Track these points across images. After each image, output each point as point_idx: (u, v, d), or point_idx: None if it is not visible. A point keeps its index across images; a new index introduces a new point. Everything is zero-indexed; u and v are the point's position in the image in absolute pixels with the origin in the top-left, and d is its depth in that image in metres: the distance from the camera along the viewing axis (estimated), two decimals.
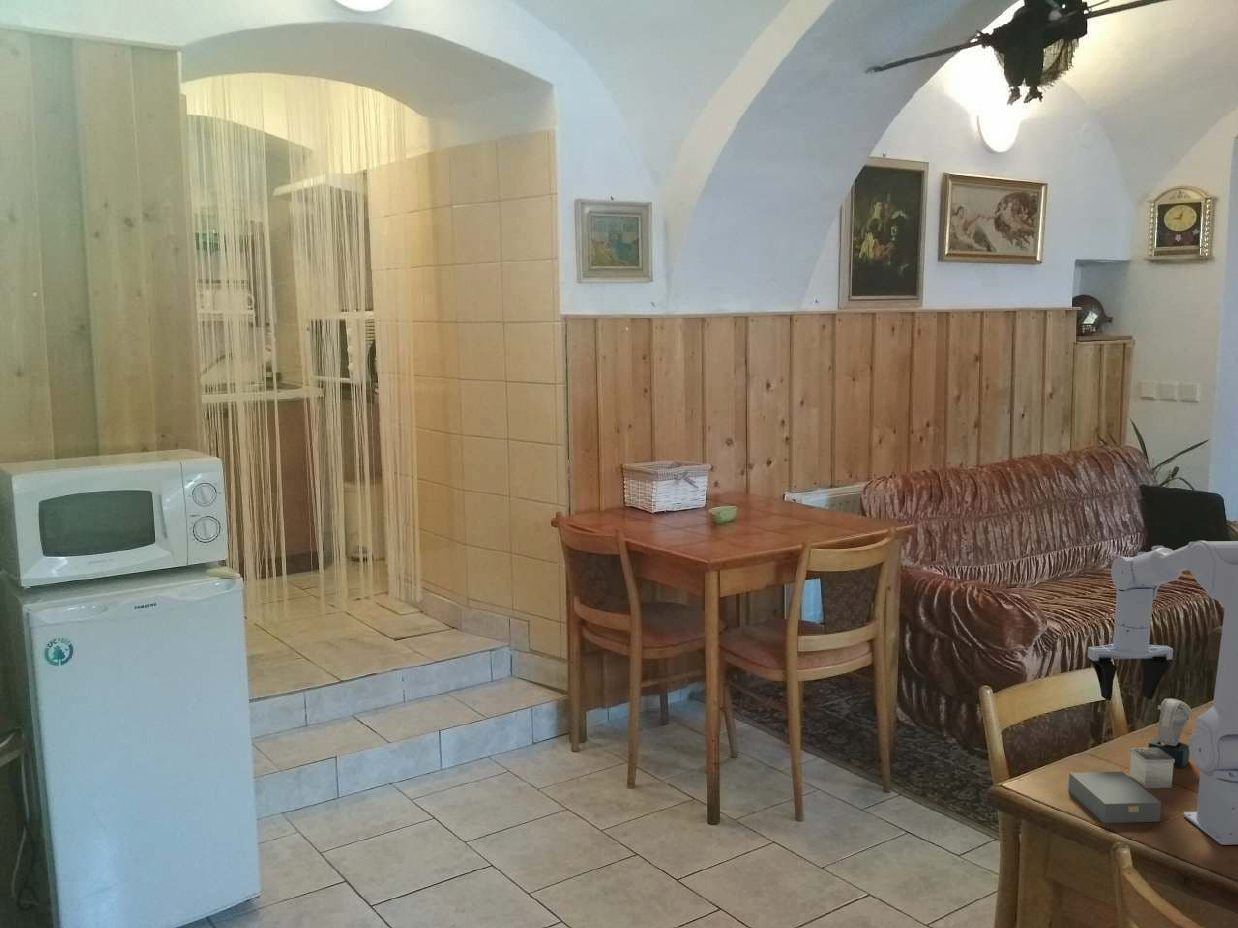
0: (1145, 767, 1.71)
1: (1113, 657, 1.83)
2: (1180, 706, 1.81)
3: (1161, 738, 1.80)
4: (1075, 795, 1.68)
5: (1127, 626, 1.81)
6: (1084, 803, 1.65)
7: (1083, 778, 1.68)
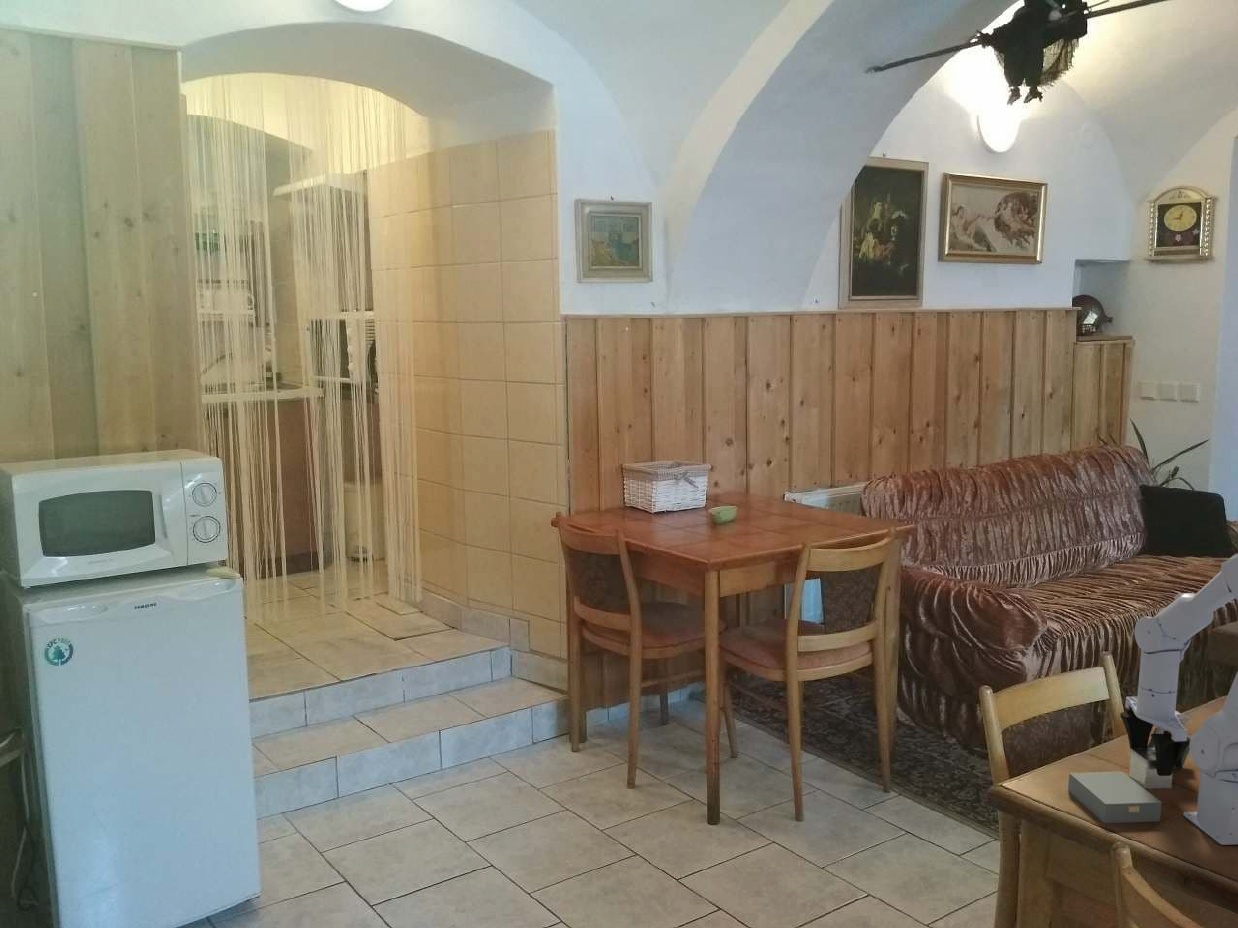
0: (1145, 768, 1.71)
1: None
2: None
3: None
4: (1075, 795, 1.68)
5: None
6: (1084, 803, 1.65)
7: (1083, 778, 1.68)
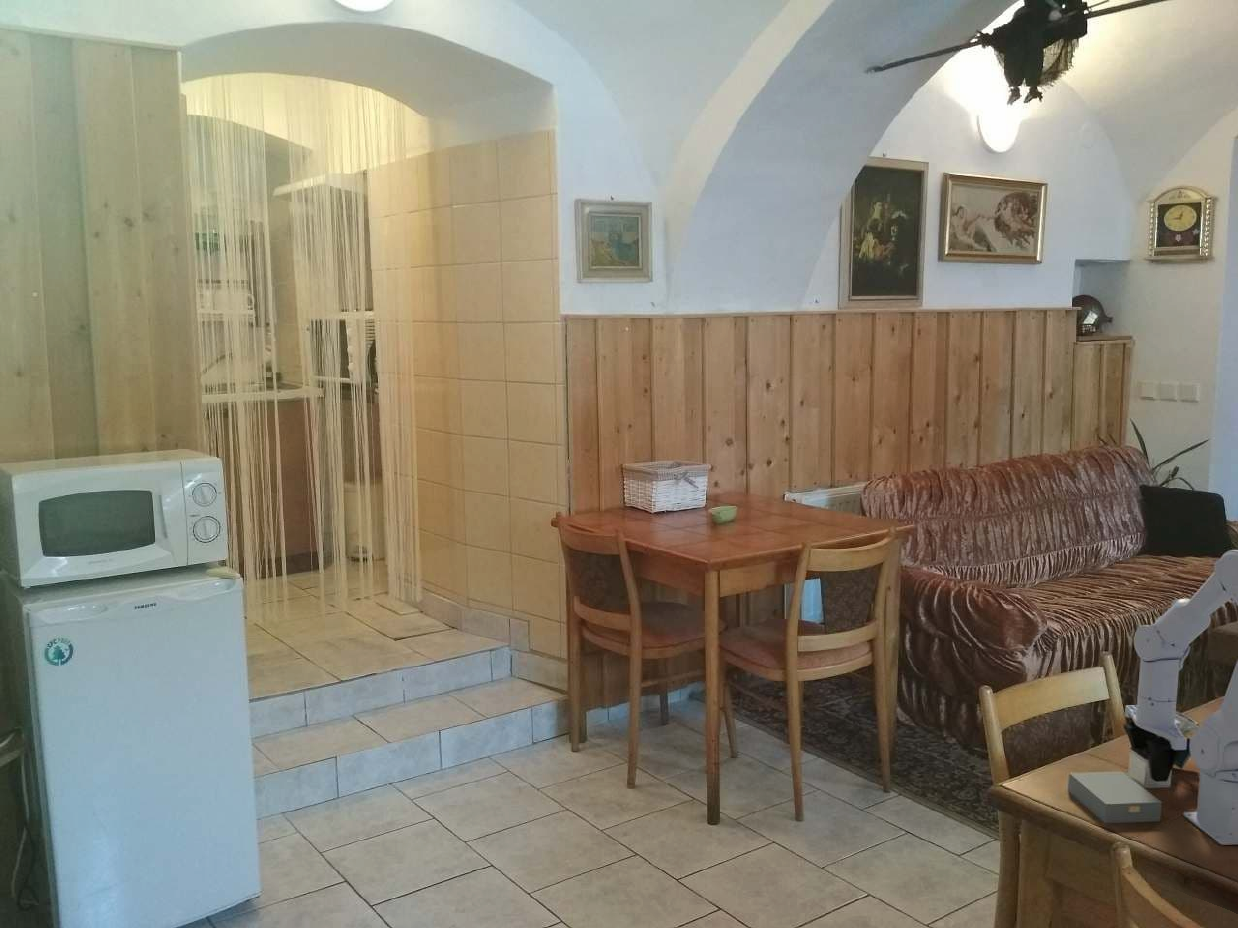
0: (1144, 767, 1.71)
1: None
2: None
3: None
4: (1075, 795, 1.68)
5: None
6: (1084, 803, 1.65)
7: (1083, 778, 1.68)
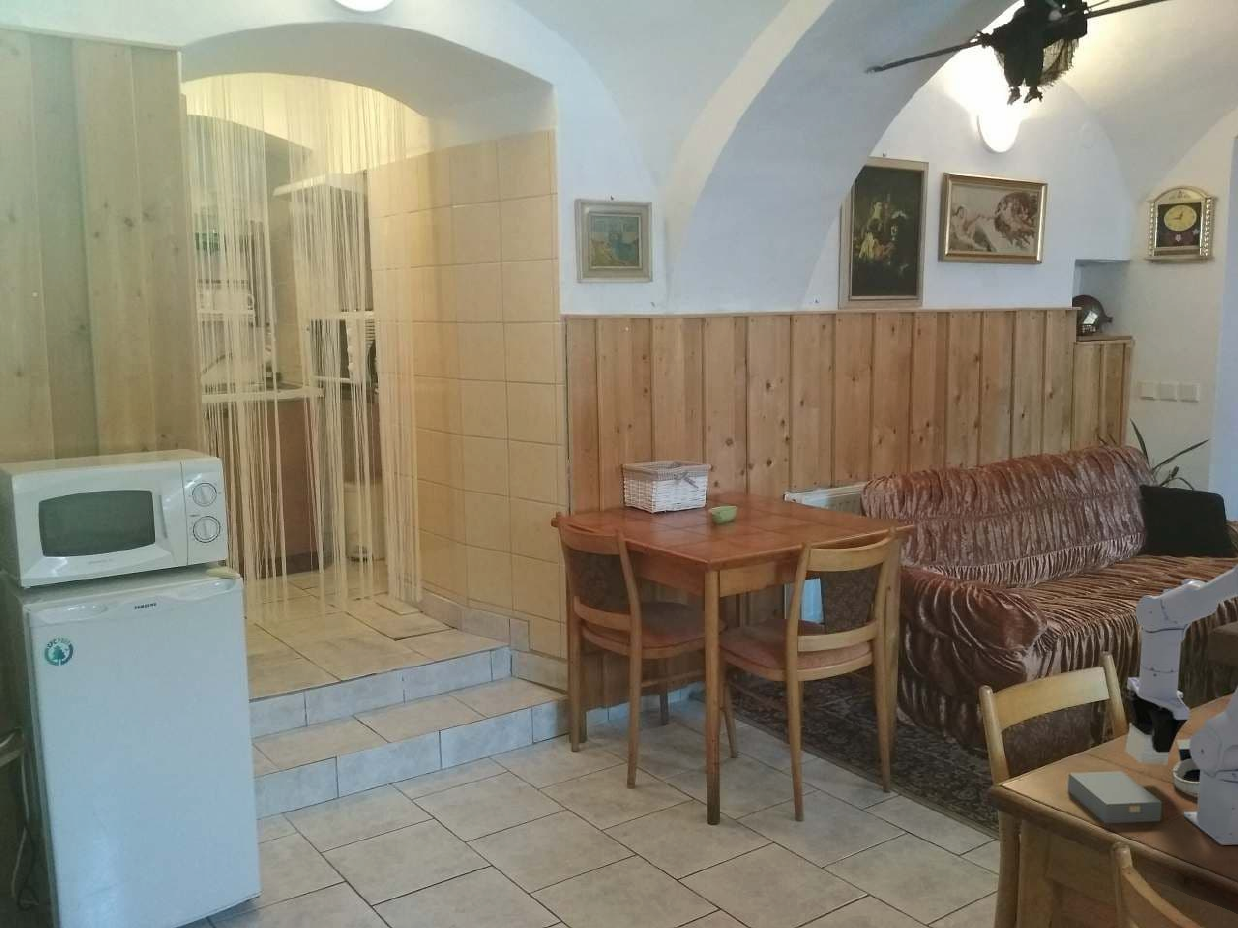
0: (1143, 742, 1.71)
1: None
2: None
3: None
4: (1075, 795, 1.68)
5: None
6: (1084, 803, 1.65)
7: (1083, 778, 1.68)
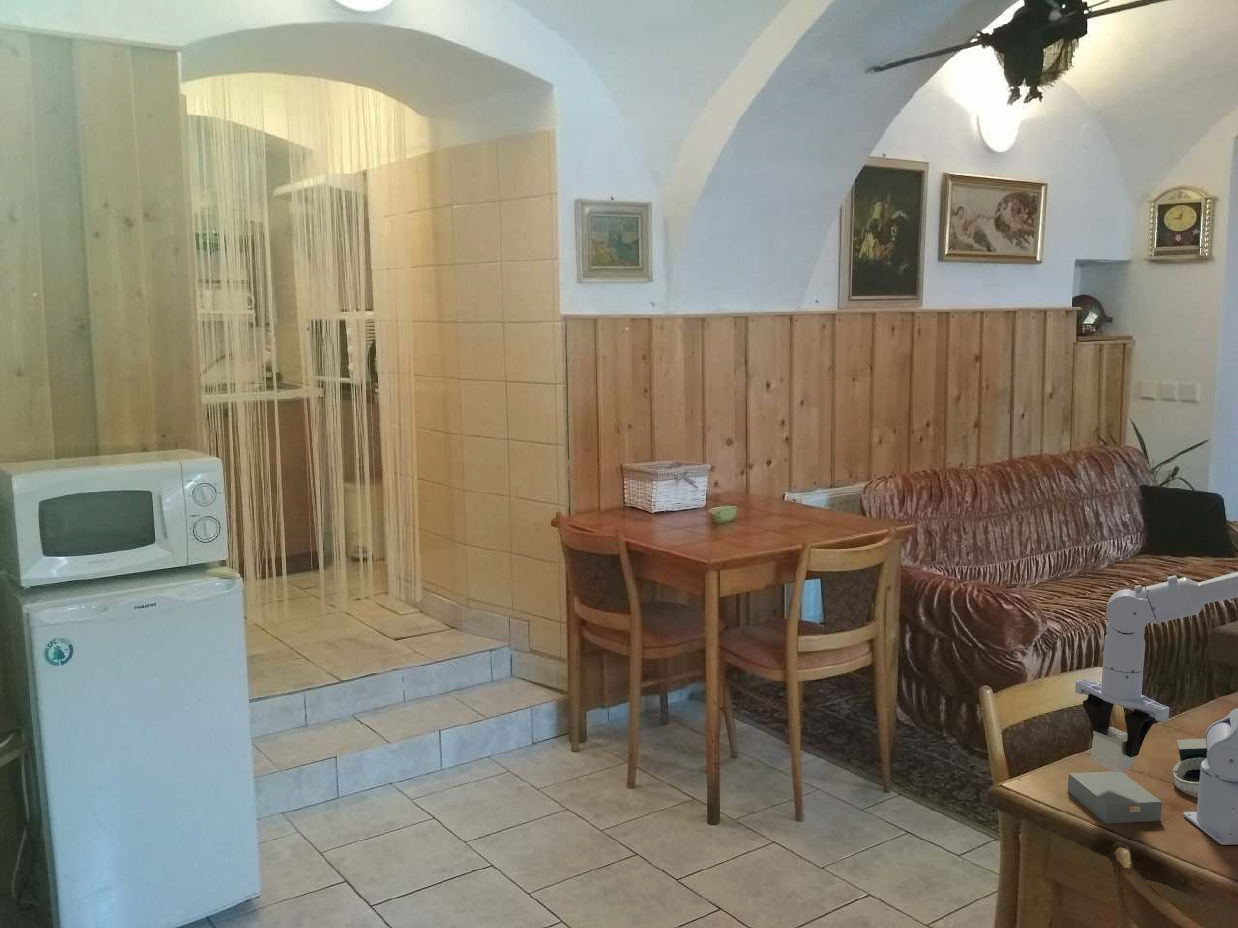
0: (1118, 750, 1.61)
1: (1100, 697, 1.66)
2: None
3: None
4: (1075, 796, 1.68)
5: (1103, 664, 1.63)
6: (1085, 804, 1.65)
7: (1083, 778, 1.68)
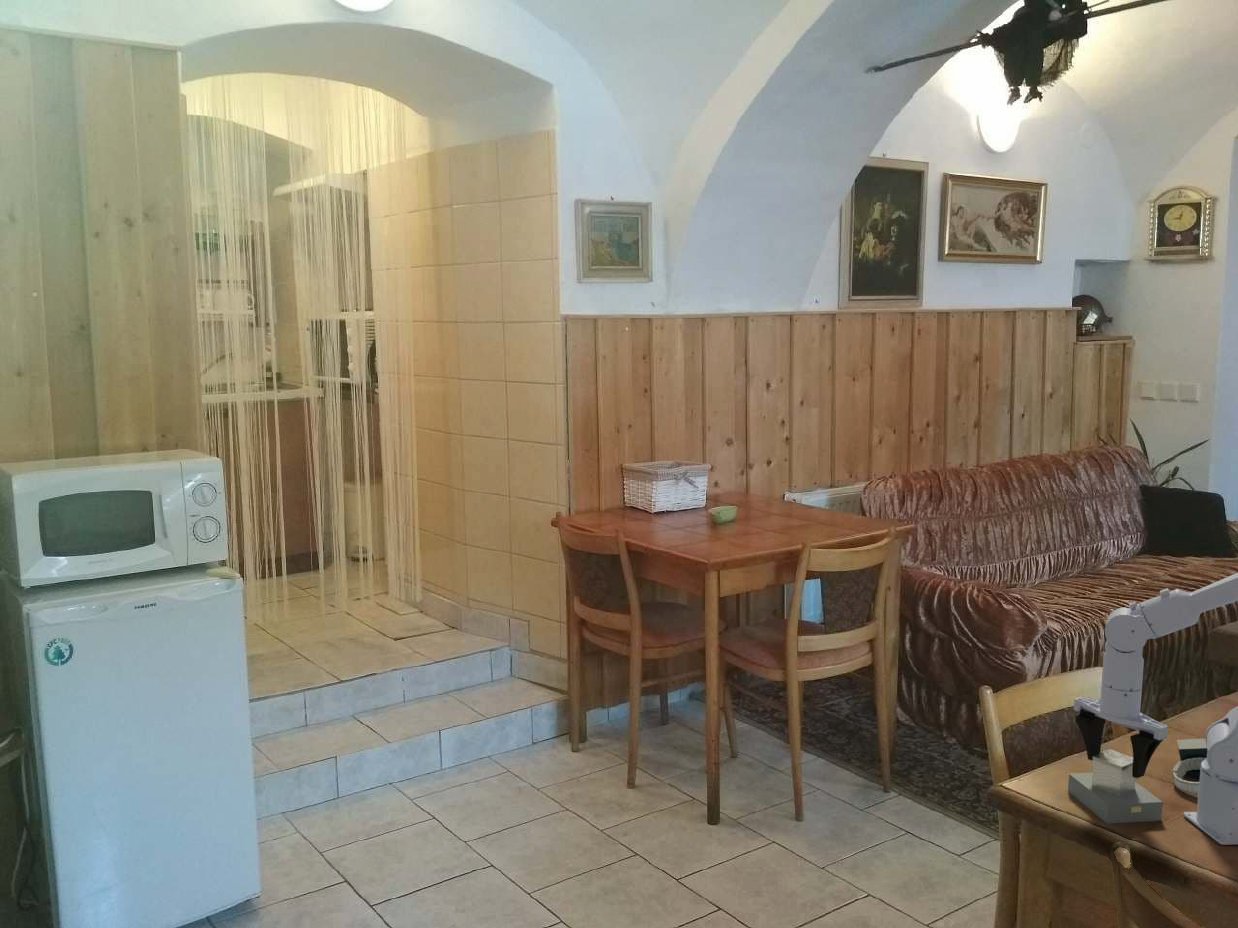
0: (1119, 775, 1.61)
1: None
2: None
3: None
4: (1075, 796, 1.68)
5: (1102, 682, 1.63)
6: (1085, 804, 1.65)
7: (1083, 779, 1.68)
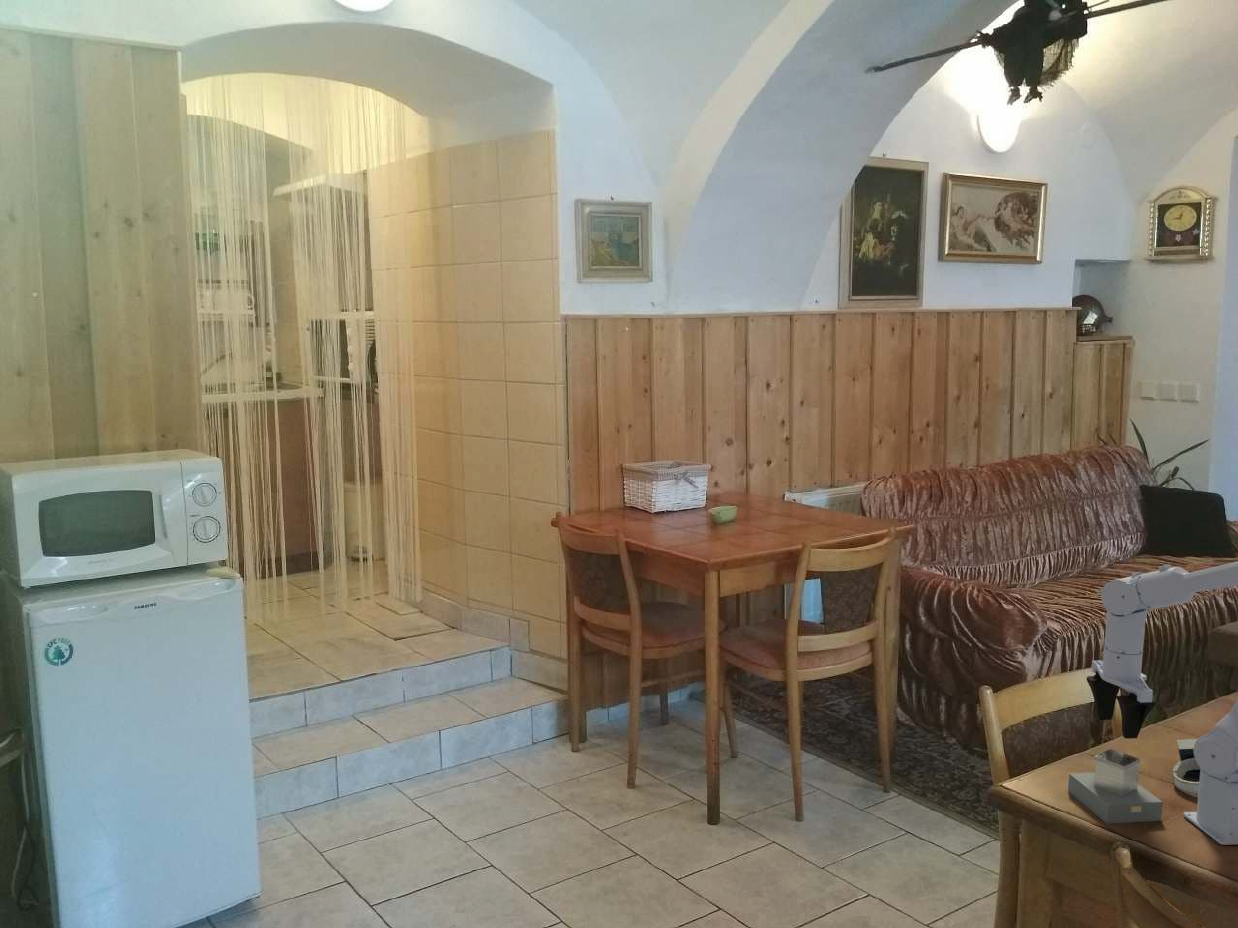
0: (1121, 774, 1.61)
1: None
2: None
3: None
4: (1075, 796, 1.68)
5: None
6: (1085, 804, 1.65)
7: (1083, 779, 1.68)
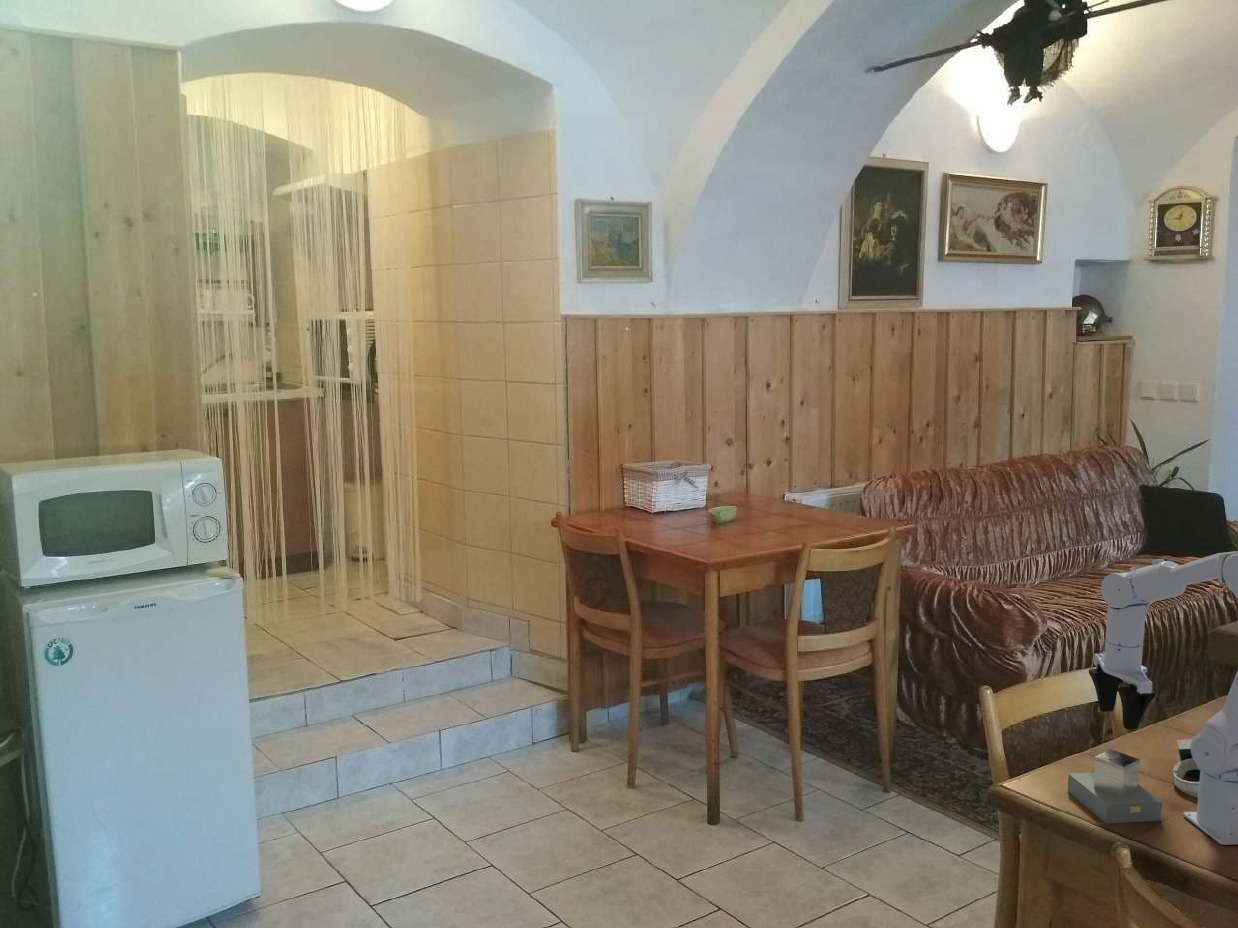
0: (1121, 775, 1.61)
1: None
2: None
3: None
4: (1075, 796, 1.68)
5: None
6: (1085, 804, 1.65)
7: (1083, 779, 1.68)
